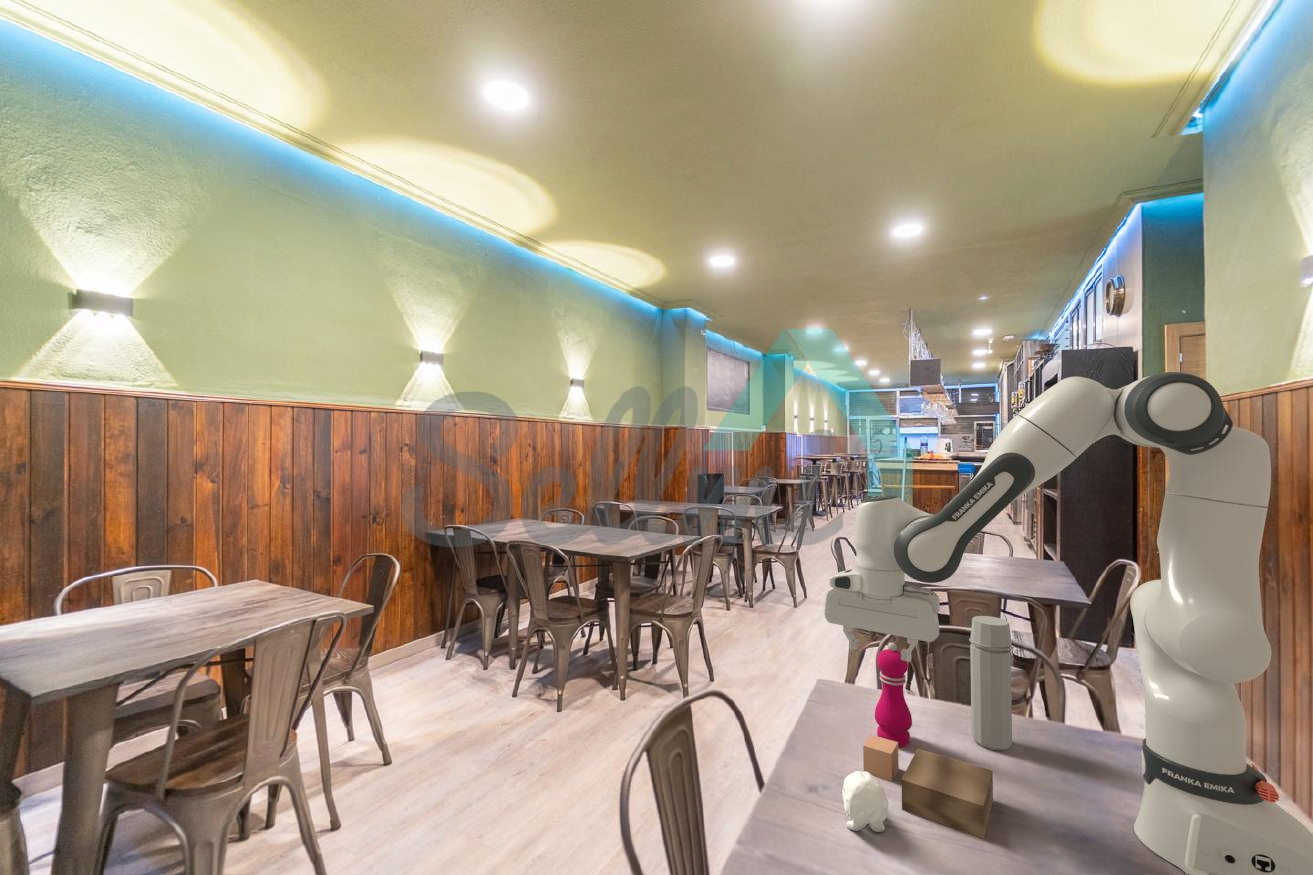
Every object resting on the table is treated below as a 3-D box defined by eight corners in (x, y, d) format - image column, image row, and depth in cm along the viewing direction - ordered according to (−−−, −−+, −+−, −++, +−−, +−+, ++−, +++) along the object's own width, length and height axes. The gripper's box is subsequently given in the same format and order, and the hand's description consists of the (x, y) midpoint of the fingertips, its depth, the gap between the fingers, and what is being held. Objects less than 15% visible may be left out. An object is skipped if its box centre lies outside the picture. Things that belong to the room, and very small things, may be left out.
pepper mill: (918, 748, 114) (917, 648, 114) (882, 748, 114) (881, 648, 114) (903, 730, 121) (902, 636, 122) (869, 730, 121) (868, 636, 122)
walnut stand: (993, 799, 98) (992, 770, 98) (984, 838, 88) (983, 806, 88) (917, 775, 105) (917, 748, 105) (901, 809, 95) (901, 779, 95)
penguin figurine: (847, 781, 88) (832, 748, 100) (849, 840, 87) (834, 799, 99) (890, 784, 88) (869, 750, 99) (892, 843, 87) (871, 802, 98)
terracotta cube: (898, 768, 107) (898, 742, 107) (891, 781, 103) (891, 753, 103) (871, 760, 110) (871, 734, 110) (863, 772, 106) (863, 745, 106)
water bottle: (1001, 757, 111) (998, 628, 111) (962, 739, 118) (960, 618, 118) (1027, 744, 115) (1024, 621, 116) (988, 728, 122) (986, 611, 122)
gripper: (943, 586, 103) (943, 662, 103) (832, 571, 116) (832, 639, 116) (936, 593, 98) (936, 673, 98) (821, 577, 111) (821, 648, 110)
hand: (879, 654), depth 107 cm, fingers open, 8 cm apart
